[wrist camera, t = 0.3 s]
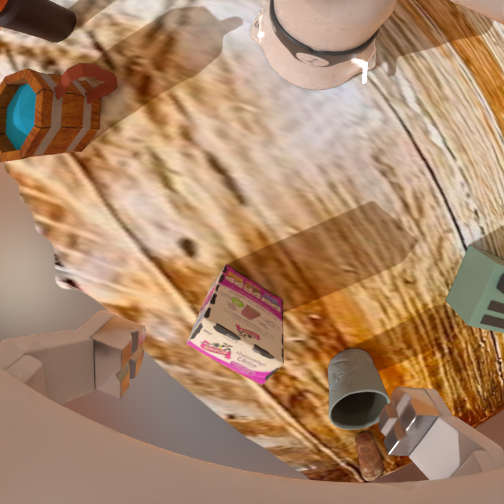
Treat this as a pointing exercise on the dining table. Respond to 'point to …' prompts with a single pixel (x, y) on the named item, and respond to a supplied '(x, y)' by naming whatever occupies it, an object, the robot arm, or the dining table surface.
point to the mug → (50, 111)
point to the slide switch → (501, 284)
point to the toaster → (479, 290)
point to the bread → (369, 457)
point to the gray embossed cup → (355, 390)
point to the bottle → (37, 18)
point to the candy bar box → (240, 326)
